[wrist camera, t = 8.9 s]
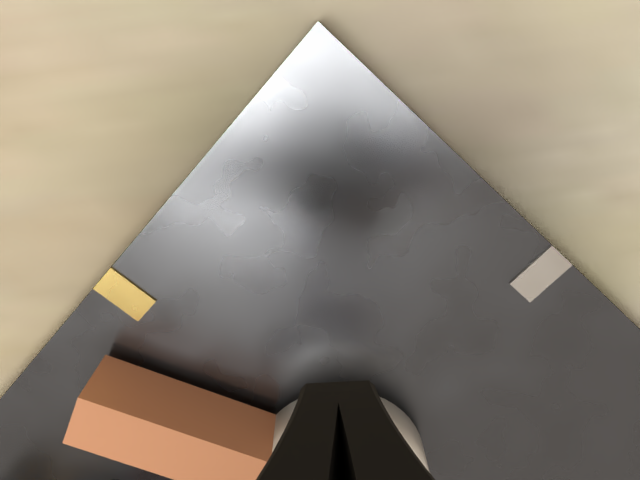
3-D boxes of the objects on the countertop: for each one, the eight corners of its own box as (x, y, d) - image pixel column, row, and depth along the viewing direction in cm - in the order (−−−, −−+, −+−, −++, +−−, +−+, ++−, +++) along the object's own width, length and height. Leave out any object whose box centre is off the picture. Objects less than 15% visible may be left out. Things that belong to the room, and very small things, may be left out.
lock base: (721, 408, 23) (844, 524, 17) (351, 682, 28) (359, 833, 23) (318, 21, 18) (317, 19, 12) (-37, 442, 23) (-141, 565, 18)
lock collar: (452, 423, 21) (469, 472, 18) (380, 542, 22) (387, 600, 20) (123, 302, 19) (96, 340, 17) (75, 442, 21) (45, 493, 19)
